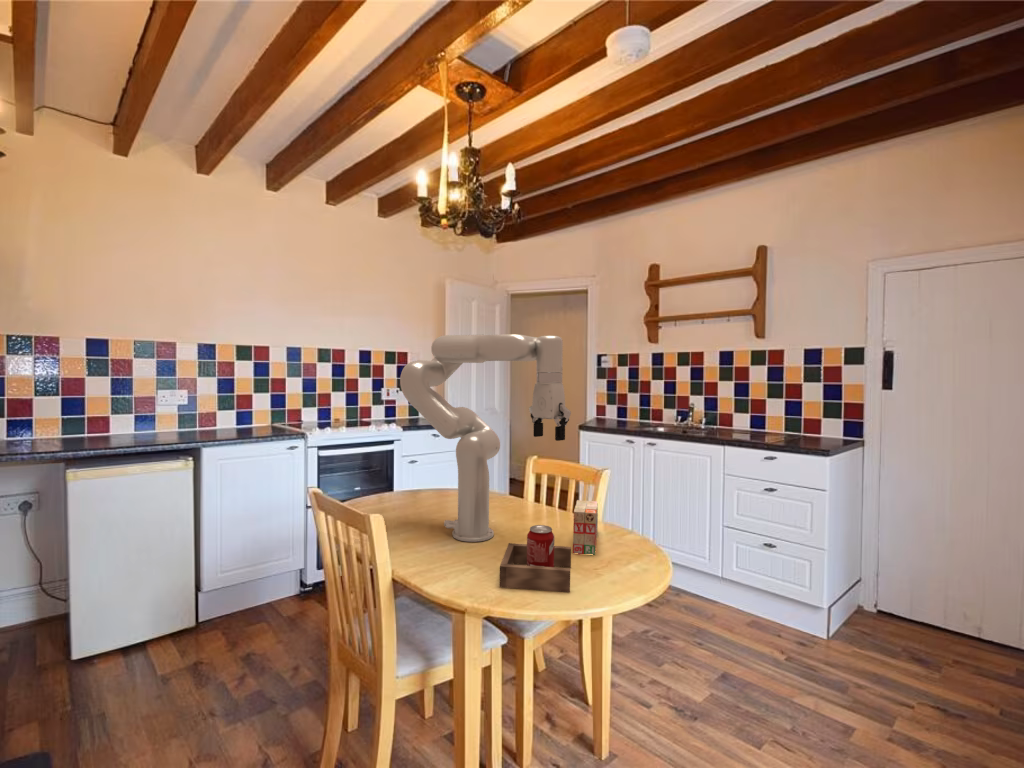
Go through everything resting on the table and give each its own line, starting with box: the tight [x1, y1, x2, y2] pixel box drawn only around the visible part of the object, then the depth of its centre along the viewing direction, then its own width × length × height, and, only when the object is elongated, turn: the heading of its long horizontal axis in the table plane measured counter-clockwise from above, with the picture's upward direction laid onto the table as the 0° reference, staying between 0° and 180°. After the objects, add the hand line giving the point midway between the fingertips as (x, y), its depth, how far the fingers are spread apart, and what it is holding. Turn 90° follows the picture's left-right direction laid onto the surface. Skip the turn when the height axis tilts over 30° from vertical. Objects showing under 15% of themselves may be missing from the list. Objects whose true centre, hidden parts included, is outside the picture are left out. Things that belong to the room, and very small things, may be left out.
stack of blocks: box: [572, 499, 599, 556], centre depth 153 cm, size 21×6×12 cm, turn 169°
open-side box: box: [499, 542, 572, 593], centre depth 128 cm, size 16×16×5 cm
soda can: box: [526, 524, 555, 567], centre depth 128 cm, size 7×7×12 cm
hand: (548, 438), depth 148 cm, fingers open, 9 cm apart
